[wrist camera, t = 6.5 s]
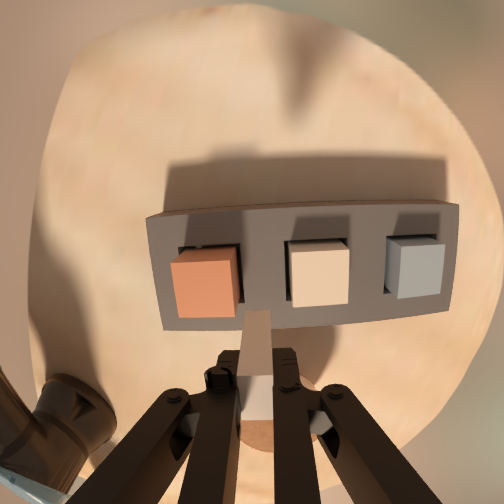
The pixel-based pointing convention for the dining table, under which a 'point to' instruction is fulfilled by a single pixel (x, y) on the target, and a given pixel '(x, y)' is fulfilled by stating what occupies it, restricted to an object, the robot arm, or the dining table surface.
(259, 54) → the dining table surface
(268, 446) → the lidded jar
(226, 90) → the dining table surface
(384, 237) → the console
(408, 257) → the grey cube
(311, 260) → the key ivory
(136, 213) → the dining table surface
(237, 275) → the key terracotta
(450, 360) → the dining table surface
